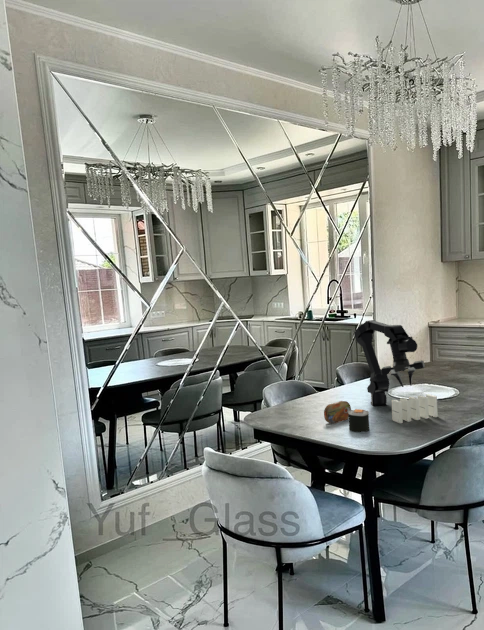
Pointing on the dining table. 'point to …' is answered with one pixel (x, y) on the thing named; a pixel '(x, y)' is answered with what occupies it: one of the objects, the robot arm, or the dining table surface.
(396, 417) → the domino
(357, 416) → the sushi
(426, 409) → the domino
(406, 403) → the domino
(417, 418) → the domino
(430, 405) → the domino
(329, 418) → the tin
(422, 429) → the dining table surface
